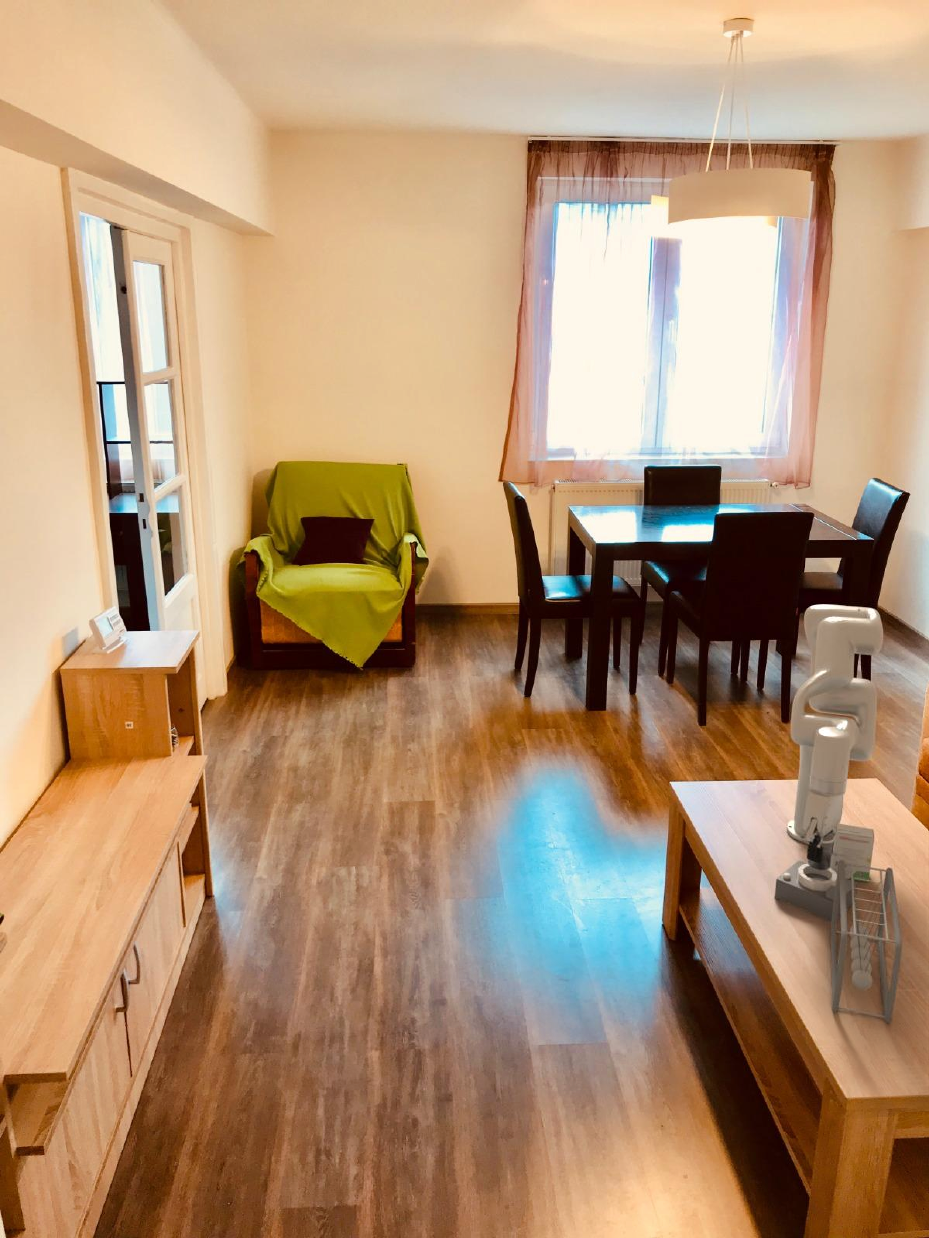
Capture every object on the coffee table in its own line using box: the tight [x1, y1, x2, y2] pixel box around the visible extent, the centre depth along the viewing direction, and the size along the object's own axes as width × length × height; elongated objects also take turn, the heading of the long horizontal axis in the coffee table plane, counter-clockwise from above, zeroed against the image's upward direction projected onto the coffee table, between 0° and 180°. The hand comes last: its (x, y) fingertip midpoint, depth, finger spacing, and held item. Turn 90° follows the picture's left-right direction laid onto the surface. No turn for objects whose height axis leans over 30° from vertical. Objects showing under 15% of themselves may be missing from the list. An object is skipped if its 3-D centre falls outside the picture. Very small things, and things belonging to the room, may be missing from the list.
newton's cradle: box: [830, 860, 903, 1024], centre depth 194 cm, size 30×10×18 cm, turn 161°
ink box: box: [830, 823, 875, 883], centre depth 230 cm, size 9×5×12 cm, turn 71°
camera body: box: [774, 860, 858, 923], centre depth 221 cm, size 11×14×7 cm
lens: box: [807, 830, 834, 870], centre depth 218 cm, size 5×5×8 cm
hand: (819, 855), depth 218 cm, fingers closed on lens, 4 cm apart
